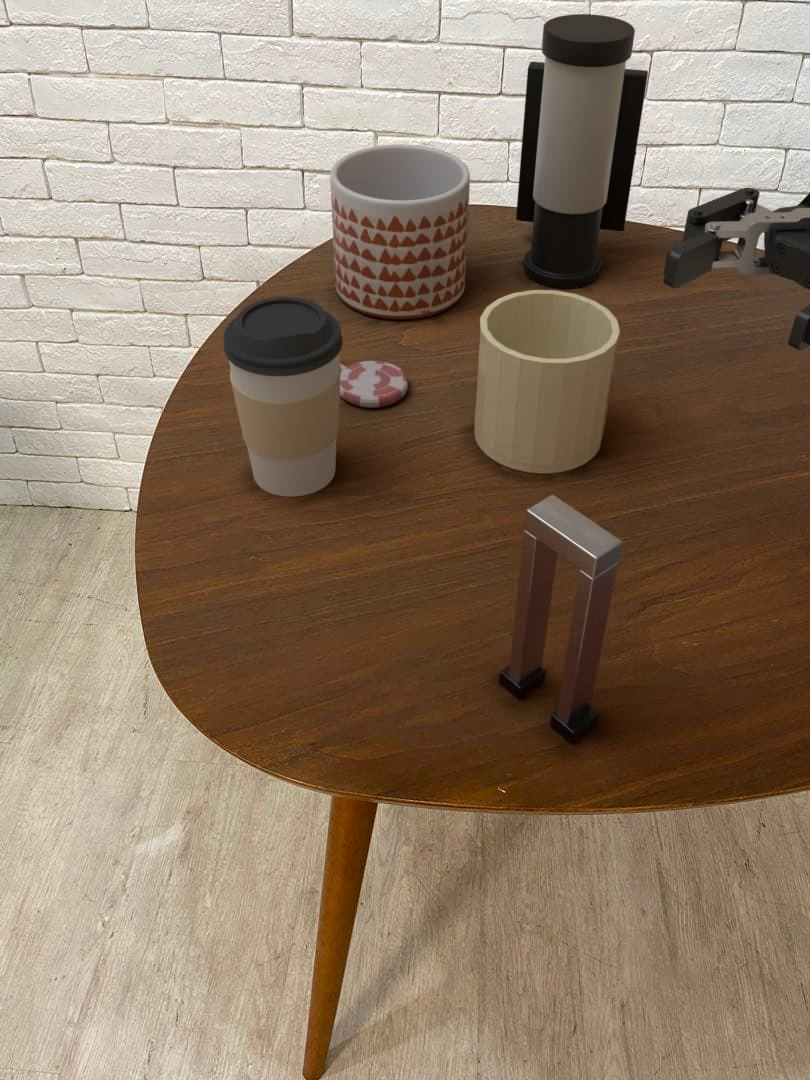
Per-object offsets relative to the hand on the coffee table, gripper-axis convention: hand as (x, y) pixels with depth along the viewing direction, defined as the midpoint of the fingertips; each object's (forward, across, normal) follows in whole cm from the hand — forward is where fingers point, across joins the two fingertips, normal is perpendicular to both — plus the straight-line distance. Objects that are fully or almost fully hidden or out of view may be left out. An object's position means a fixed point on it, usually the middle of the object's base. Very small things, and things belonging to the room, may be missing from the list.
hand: (731, 301), depth 58 cm
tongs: (+11, 0, +26) cm, 28 cm away
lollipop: (-2, -40, +26) cm, 48 cm away
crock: (-10, -21, +26) cm, 35 cm away
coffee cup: (+10, -31, +26) cm, 42 cm away
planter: (-17, -48, +27) cm, 58 cm away
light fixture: (-34, -41, +27) cm, 60 cm away
